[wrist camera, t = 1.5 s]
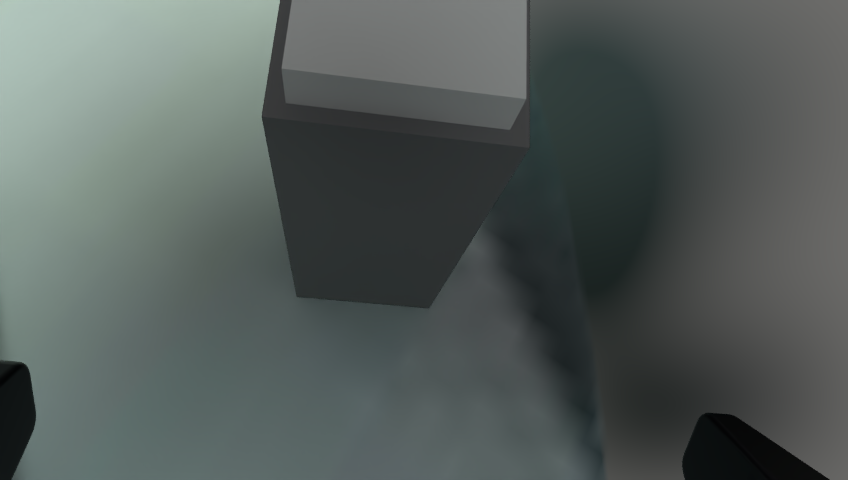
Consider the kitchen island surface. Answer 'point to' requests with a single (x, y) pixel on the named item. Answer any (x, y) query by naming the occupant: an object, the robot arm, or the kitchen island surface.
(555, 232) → the kitchen island surface
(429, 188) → the iec plug
